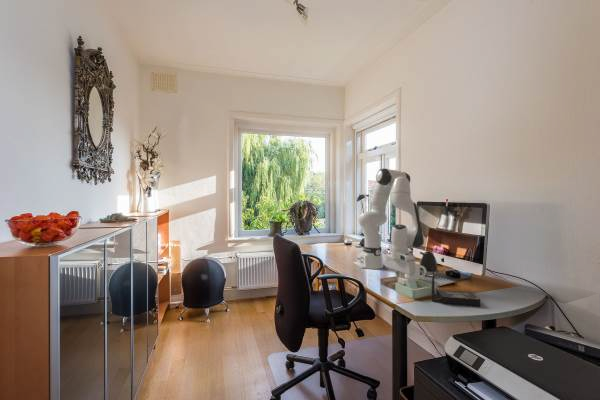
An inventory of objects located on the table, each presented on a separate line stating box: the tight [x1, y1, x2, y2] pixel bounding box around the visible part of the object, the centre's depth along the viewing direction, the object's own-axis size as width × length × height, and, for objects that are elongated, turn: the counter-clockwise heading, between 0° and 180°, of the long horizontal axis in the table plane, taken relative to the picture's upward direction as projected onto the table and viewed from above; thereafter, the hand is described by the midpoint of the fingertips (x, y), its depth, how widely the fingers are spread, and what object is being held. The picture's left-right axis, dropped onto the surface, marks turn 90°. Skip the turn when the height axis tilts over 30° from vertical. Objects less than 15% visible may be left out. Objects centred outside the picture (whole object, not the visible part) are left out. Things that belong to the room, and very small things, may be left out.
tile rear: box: [398, 276, 412, 285], centre depth 156 cm, size 5×5×2 cm
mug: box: [404, 260, 426, 282], centre depth 171 cm, size 12×8×10 cm
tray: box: [394, 279, 438, 301], centre depth 149 cm, size 12×16×5 cm
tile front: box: [405, 279, 418, 289], centre depth 152 cm, size 5×5×2 cm
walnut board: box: [379, 275, 417, 291], centre depth 161 cm, size 13×14×3 cm
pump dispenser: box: [419, 250, 438, 276], centre depth 181 cm, size 10×10×15 cm
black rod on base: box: [431, 267, 481, 308], centre depth 138 cm, size 20×14×17 cm
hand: (399, 278), depth 160 cm, fingers closed
